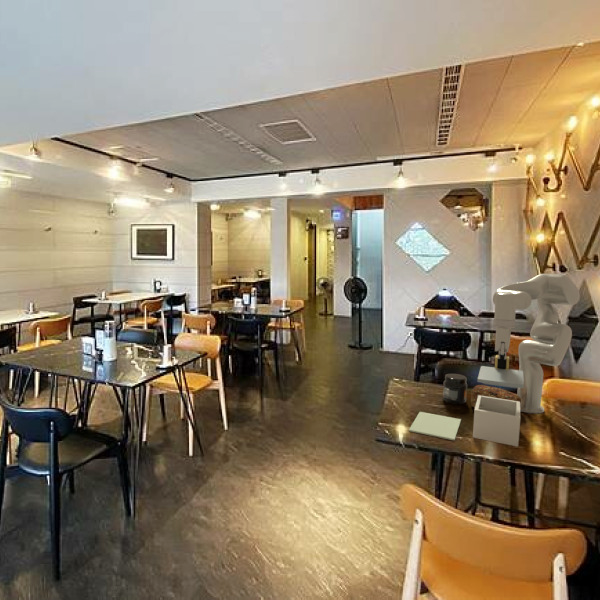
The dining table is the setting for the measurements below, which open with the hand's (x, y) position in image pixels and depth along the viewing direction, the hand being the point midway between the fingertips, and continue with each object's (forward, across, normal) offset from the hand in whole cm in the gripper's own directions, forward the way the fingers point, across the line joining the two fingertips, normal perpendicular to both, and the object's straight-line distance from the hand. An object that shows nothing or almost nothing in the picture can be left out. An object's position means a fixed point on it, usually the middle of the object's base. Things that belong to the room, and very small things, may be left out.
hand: (501, 366), depth 168 cm
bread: (+25, -15, -2) cm, 29 cm away
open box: (+24, +11, -1) cm, 26 cm away
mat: (+23, +16, -23) cm, 36 cm away
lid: (+3, +9, 0) cm, 9 cm away
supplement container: (+24, -18, -20) cm, 36 cm away
